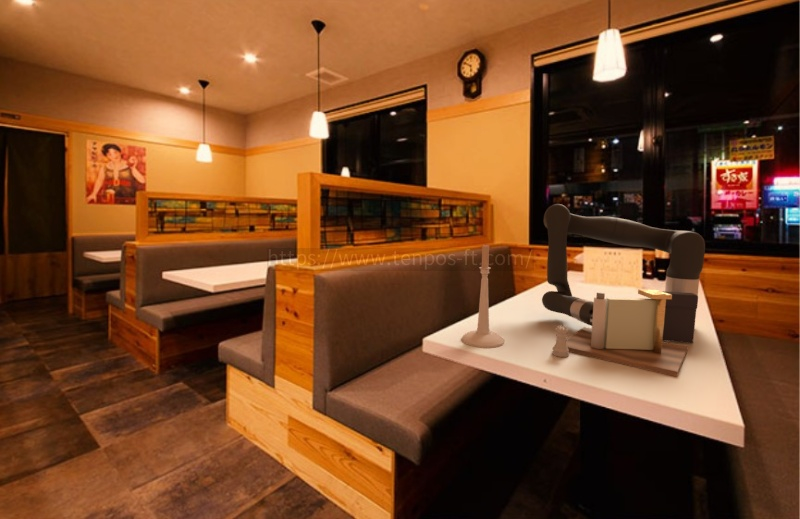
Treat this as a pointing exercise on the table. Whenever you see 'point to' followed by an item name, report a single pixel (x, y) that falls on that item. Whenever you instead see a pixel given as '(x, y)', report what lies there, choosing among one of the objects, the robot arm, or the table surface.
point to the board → (631, 354)
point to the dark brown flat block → (680, 317)
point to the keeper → (657, 315)
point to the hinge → (623, 323)
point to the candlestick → (483, 313)
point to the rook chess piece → (561, 342)
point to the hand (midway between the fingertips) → (631, 327)
